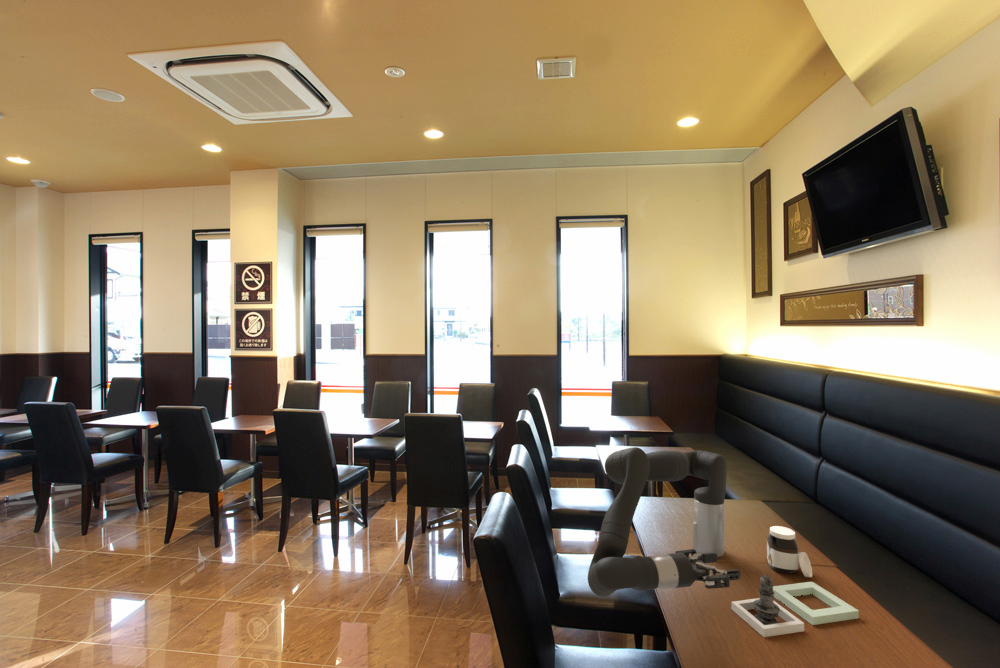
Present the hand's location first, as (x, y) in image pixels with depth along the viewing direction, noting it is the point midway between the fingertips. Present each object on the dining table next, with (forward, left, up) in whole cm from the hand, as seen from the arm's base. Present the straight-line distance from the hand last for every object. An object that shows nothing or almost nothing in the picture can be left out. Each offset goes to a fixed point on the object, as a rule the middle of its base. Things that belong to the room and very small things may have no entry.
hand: (727, 565), depth 115 cm
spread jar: (+16, +39, -15) cm, 45 cm away
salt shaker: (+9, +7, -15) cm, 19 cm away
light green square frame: (+20, +20, -15) cm, 32 cm away
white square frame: (+9, +7, -15) cm, 19 cm away
